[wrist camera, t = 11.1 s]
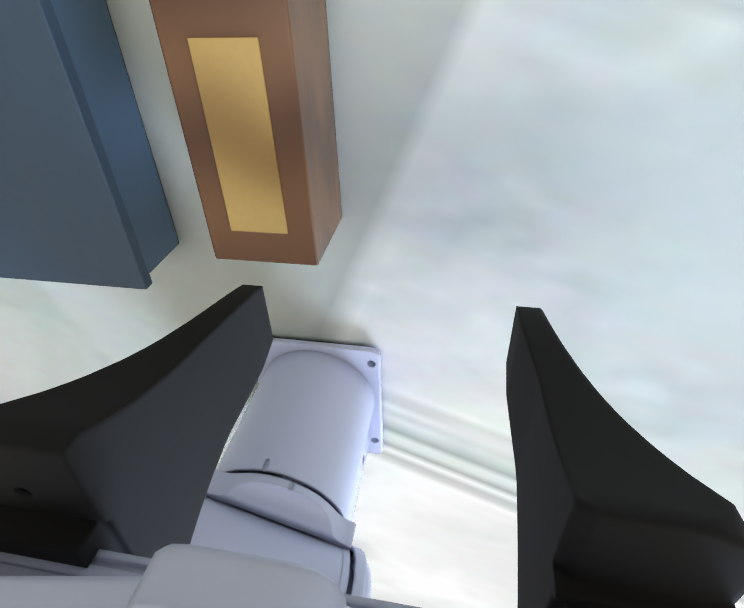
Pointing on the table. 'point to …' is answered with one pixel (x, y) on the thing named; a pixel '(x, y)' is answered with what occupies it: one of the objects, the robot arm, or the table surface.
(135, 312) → the table surface
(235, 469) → the robot arm
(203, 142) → the plaque
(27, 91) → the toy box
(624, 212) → the table surface
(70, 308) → the table surface
